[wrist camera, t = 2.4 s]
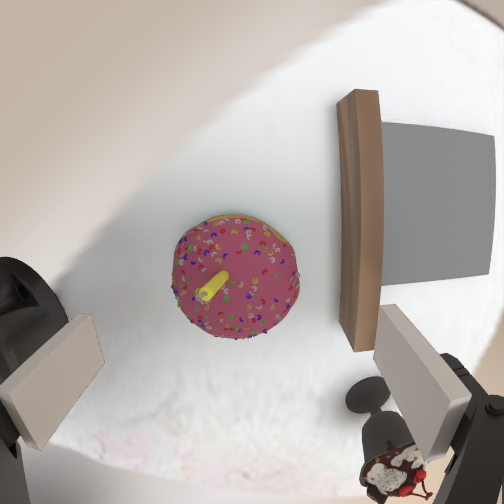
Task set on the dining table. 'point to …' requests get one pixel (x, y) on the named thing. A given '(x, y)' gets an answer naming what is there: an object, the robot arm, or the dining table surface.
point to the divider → (361, 215)
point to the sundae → (386, 445)
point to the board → (437, 203)
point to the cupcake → (234, 276)
